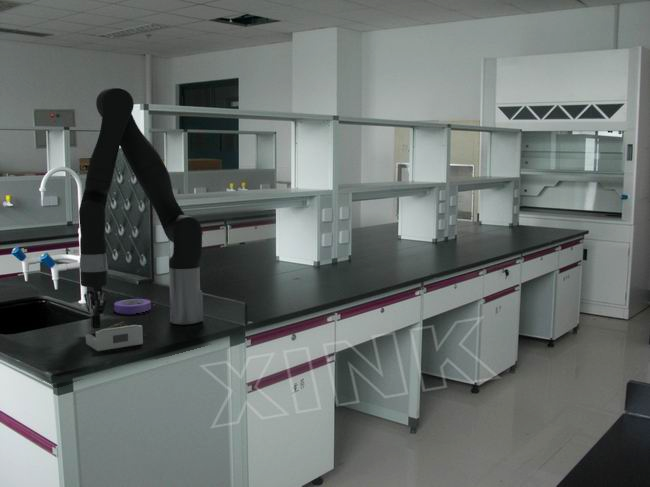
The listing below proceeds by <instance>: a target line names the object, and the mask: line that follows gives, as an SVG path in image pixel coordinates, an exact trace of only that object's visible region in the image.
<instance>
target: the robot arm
mask: <svg viewBox="0 0 650 487" xmlns="http://www.w3.org/2000/svg"><path fill="white" fill-rule="evenodd" d="M95 104H96V109H97V112H98V113H99V115H100V117H101V125H100V131H99V134H98V138H97V141H96V143H95V145H94V149H93V151H92V154H91V157H90V160H89V163H88V167H87V171H86V175H85V176H86V178H85V184H84V185H85V187H84V190H83V193H82V194H83V195H82V198H81V202H80V205H79V209H78V218H79V228H80V241H79V243H80V244H79V247H80V248H79V249H80V250H79V251H80V254H79V255H80V256H79V257H80V258H79V274H80V275H79V276H80V278H79V279H80V286H82V287H85V288H86V291H85V293H84V294H83V297H84V301H85V305H86V308H87V312H88V313H89V315H90V325H91V326H90V327H91V329H94V330H95V329H100V328H101V315H103V314H104V310H105V307H106V303H107V299H106V298H104V297H105V296H104V291H103V286H104V287H105V286H107V285H109V284H108V283H109V276H108V275H109V274H108V273H109V271H108V270H109V269H108V268H109V267H108V258H107V240H106V235H105V234H106V206H107V200H108V196H109V192H110V190H111V187H112V182H113V178H114V173H115V168H116V162H117V158H118V155H119V154H118V153H119V150H120V149H121V151H122V153H123V155H124V157H125V159H126V162H127V163H128V166H129V167H130V169H131V172H132V173H133V175H134V177H135V179H136V181H137V182H138V184H139V186H140V187H141V189H142V191H143V192H144V194H145V196H146V198H147V200H149V203H150V204H151V205H152V207H153V209H154V211H155V212H156V213H155V214H156V215H157V218H158V220H159V222H160V225H161V227H162V230H163V233H164V234H165V236H166V238H167V239H168V240H169V241H170V242H171V243H172V244H173V247H172V248H173V249H172V250H173V251H172V256H171V257H170V258H169V260H168V267H169V268H168V269H169V273H168V274H169V277H168V278H169V312H170V313H169V317H170V318H169V319H170V323H171V324H174V325H193V324H197V323H200V322H203V321H204V305H203V304H204V302H203V301H204V297H203V295H204V293H203V291H202V290H201V283H200V282H201V278H200V277H201V275H200V273H201V272H200V261H201V259H202V254H203V253H202V252H203V229H202V225H201V223H200V222H199V219H197V218H196V217H194V216H190V215H186V214H185V212H184V211H183V210H182V208H181V206H180V205H179V203H178V202H177V199H176V197H175V194H174V190H173V186H172V181H171V176H170V173H169V171H168V169H167V166H166V165H165V163H164V161H163V159H162V157H161V155H160V154H159V152H158V151H157V149H156V148H155V147H154V145H152V143H151V142H150V141H149V140H148V139H147V137H146V136H145V135H144V134H143V132H142V131H141V129H140V128H139V126H138V123H137V122H136V120H135V118H134V116H133V114H132V113H133V110H134V106H135V105H134V104H135V103H134V99H133V96H132V94H131V93H130V92H129V91H128V90H126V89H125V88H122V87H115V86H114V87H111V88H106V89H104V90H102V91H101V92H100V93H99V94H98V95H97V97H96V101H95Z"/></svg>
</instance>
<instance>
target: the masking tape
mask: <svg viewBox="0 0 650 487" xmlns="http://www.w3.org/2000/svg"><path fill="white" fill-rule="evenodd" d="M151 303H152V302H151V300H150V299H145V298H131V299H124V300H118V301H115V302H114V304H113V306H114V308H113V310H114V312H115V313H117V314H122V315H137V314H136V313H140V314H142V313H141V312H145V311H148V310H150V309H151V310H152V304H151ZM151 310H150V311H151ZM148 312H149V311H148ZM145 313H146V312H145Z"/></svg>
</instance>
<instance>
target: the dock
mask: <svg viewBox="0 0 650 487" xmlns="http://www.w3.org/2000/svg"><path fill="white" fill-rule="evenodd" d="M99 330H100V331H98V330H96V331H95V336H94V335H93V334H91V333H89V334H88V333H87V334H85V344H86V345H88V346H89V347H90V348H92V349H93V350H95V351H96V352H101V351H107V350H111V349H112V350H114V349H119V348H125V347H132V346H137V345H143V344H144V340H143V338H144V337H143V336H144V335H143V334H144V333H143V325H141V324H140V325H139V324H138V325H137V324H130V325H127V326H123V327H116V328H109V329H104V328H102V329H99Z"/></svg>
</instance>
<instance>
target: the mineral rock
mask: <svg viewBox="0 0 650 487" xmlns="http://www.w3.org/2000/svg"><path fill="white" fill-rule="evenodd" d="M123 326H128V323H127V322H126V320H125V321H124V320H123V321H120V322H117V323H115V324H112V325H109V326H108V327H104V328H103V329H109V328H116V327H123ZM100 330H101V329H98V330H97V331H100Z"/></svg>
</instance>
